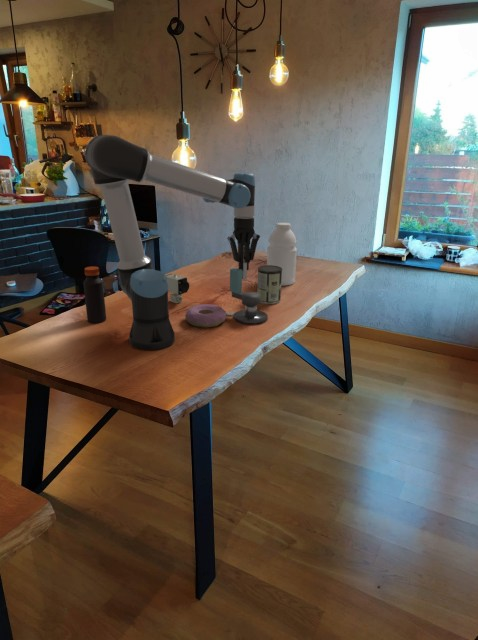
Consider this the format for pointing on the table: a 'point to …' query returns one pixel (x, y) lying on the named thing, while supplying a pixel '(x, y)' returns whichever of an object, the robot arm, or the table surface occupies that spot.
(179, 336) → the table surface
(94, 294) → the bottle
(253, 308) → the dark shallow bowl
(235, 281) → the teal grey l-shaped block
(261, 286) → the coffee can
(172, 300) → the security camera
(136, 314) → the robot arm
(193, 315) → the donut
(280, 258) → the bottle
